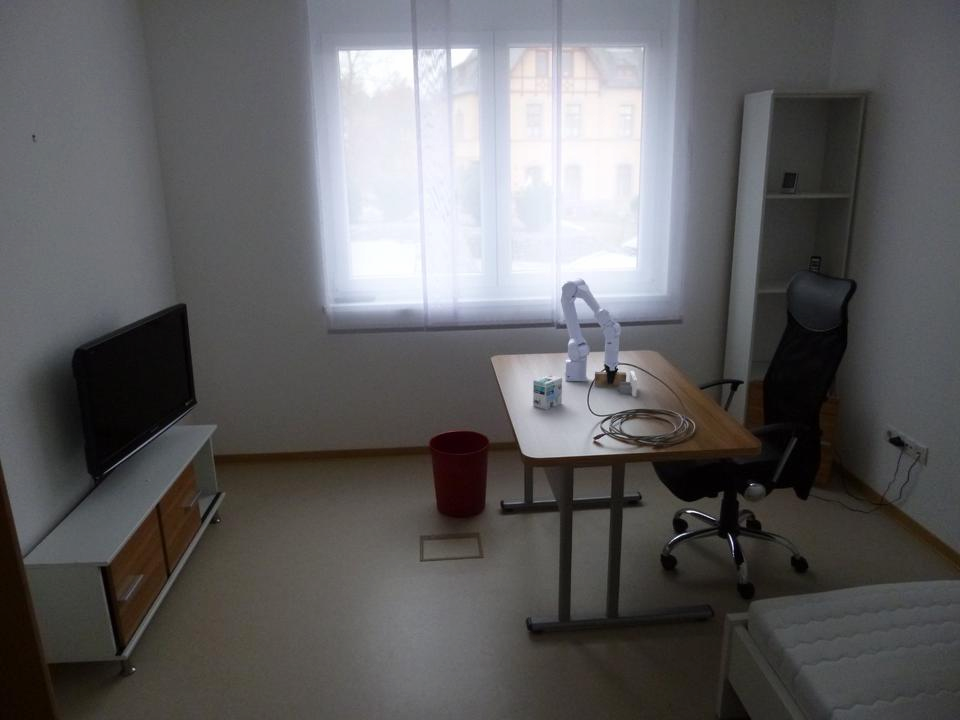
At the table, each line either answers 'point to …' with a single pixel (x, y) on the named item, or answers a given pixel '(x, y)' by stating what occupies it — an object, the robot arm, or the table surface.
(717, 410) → the table surface
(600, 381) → the rail
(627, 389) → the bracket
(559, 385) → the light bulb box
